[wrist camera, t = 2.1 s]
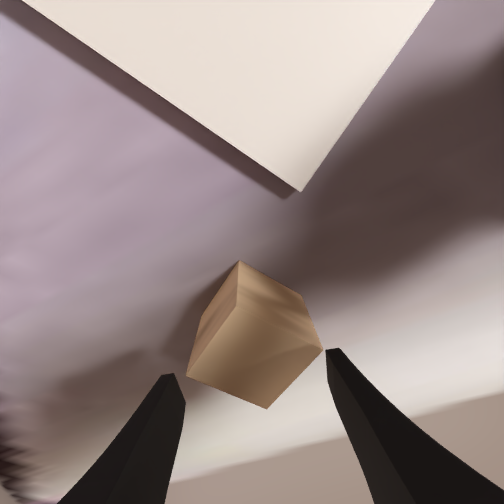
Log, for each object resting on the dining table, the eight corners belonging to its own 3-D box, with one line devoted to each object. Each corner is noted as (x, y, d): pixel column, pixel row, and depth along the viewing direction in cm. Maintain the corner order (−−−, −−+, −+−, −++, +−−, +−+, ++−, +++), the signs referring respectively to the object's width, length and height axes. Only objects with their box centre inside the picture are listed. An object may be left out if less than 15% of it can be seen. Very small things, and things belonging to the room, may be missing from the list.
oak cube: (301, 294, 16) (323, 350, 12) (261, 343, 18) (266, 409, 13) (238, 259, 15) (236, 305, 11) (201, 314, 17) (185, 375, 12)
